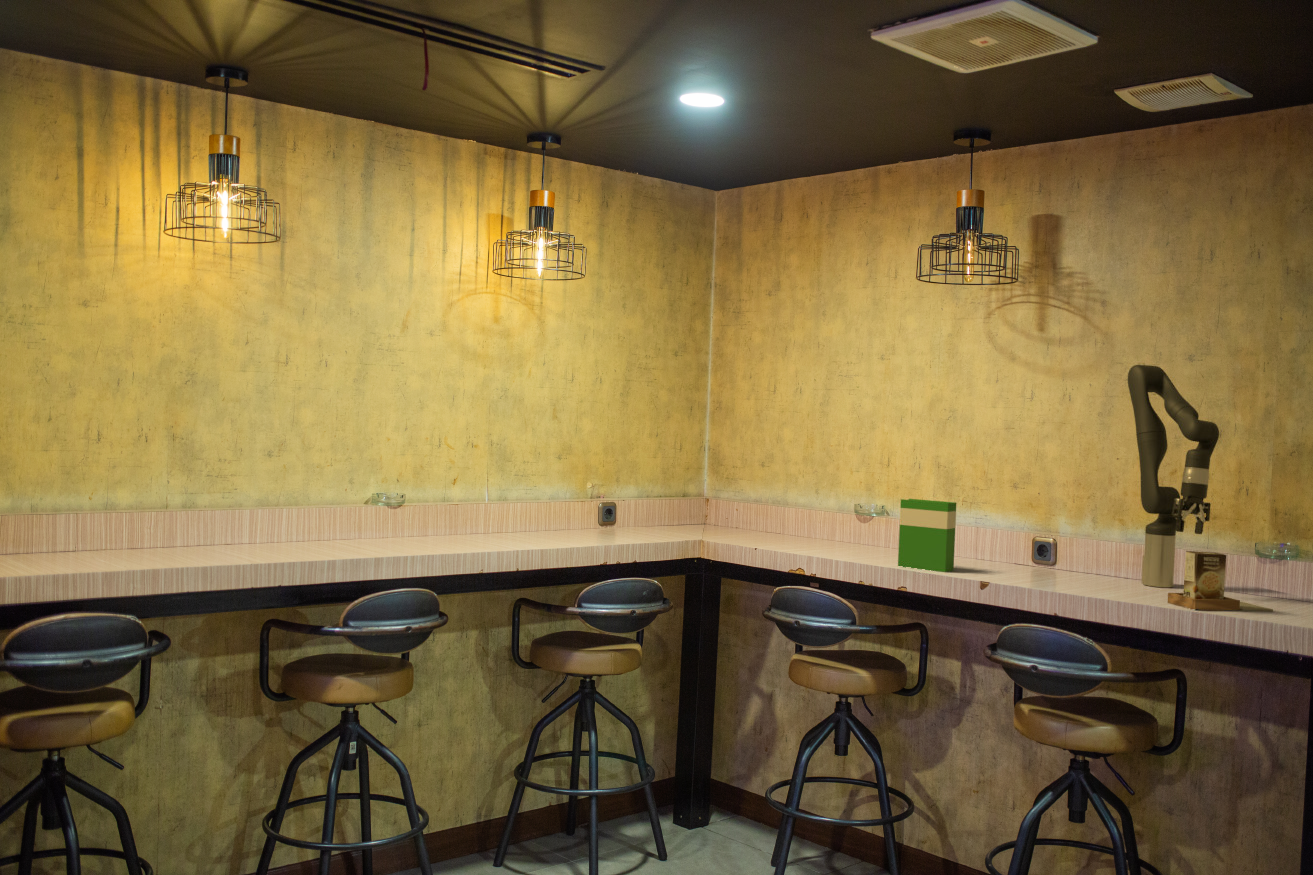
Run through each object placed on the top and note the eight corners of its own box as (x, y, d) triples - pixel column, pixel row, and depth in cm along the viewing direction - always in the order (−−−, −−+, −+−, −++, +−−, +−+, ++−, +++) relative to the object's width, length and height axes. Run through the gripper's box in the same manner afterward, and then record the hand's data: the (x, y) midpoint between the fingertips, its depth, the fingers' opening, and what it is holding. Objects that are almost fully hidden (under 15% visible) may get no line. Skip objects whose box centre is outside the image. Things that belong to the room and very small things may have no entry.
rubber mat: (1212, 602, 324) (1212, 601, 324) (1241, 603, 326) (1241, 601, 326) (1242, 610, 312) (1242, 609, 312) (1273, 611, 313) (1273, 609, 313)
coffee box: (1193, 608, 313) (1196, 553, 313) (1182, 604, 320) (1184, 550, 320) (1224, 609, 314) (1226, 554, 313) (1212, 605, 320) (1214, 551, 320)
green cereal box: (897, 566, 382) (900, 499, 382) (906, 564, 388) (909, 498, 387) (945, 572, 371) (948, 503, 371) (953, 570, 377) (956, 502, 377)
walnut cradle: (1167, 602, 322) (1168, 592, 322) (1210, 603, 324) (1211, 593, 324) (1194, 610, 309) (1195, 599, 309) (1239, 610, 312) (1239, 600, 312)
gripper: (1200, 483, 348) (1194, 533, 348) (1169, 479, 342) (1163, 529, 342) (1220, 485, 341) (1214, 536, 341) (1189, 480, 335) (1183, 532, 335)
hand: (1188, 532), depth 341 cm, fingers open, 8 cm apart
